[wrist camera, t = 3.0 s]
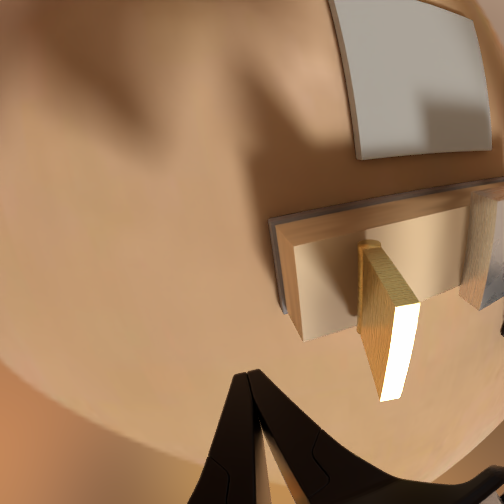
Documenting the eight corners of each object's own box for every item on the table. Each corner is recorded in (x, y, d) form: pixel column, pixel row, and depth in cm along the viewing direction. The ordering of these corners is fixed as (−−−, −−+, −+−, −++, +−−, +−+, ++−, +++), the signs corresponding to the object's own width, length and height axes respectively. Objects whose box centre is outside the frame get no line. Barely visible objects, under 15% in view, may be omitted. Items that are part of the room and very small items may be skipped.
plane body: (505, 176, 17) (537, 186, 14) (500, 237, 19) (528, 252, 16) (267, 218, 15) (287, 243, 12) (281, 308, 17) (299, 346, 14)
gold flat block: (377, 238, 12) (423, 302, 8) (374, 321, 14) (402, 396, 9) (354, 240, 12) (392, 307, 8) (354, 324, 14) (377, 401, 9)
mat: (467, 21, 12) (472, 20, 11) (486, 148, 16) (492, 150, 15) (324, -13, 11) (328, -17, 10) (356, 158, 15) (361, 160, 14)
